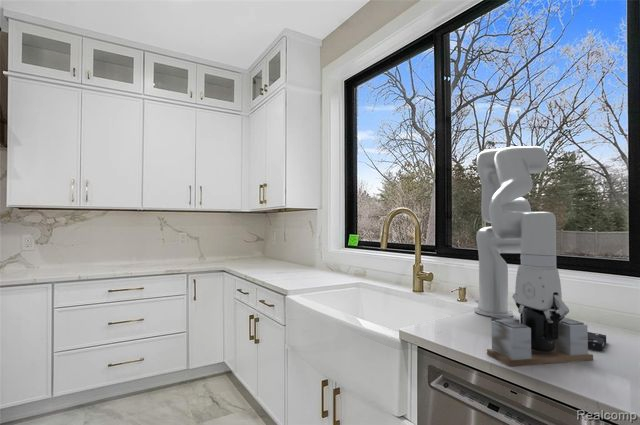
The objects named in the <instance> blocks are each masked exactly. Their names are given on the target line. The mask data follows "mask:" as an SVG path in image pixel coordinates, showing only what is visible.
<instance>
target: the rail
mask: <svg viewBox="0 0 640 425" xmlns="http://www.w3.org/2000/svg"><path fill="white" fill-rule="evenodd" d="M588 332H589V331H588V324H586V323H585V322H583V321H578V320H576V319H572V318H569V317H566V316H565V317H564V318H563V319H562V320H561V322H560V323H558V339H556V340H555V348H554V350H553V351H548V352H545V351H537V350H533V349H531V328H529V327H527V326H526V325H523V324H521V323H520V322H519V323H518V322H515V321H512V320H510V319H503V320H495V321H492V320H491V348H487V349H486V354H487V355H488V356H490V357H492V358H494V359H495V360H498V361H499V362H501V363H502V364H505V365H506V366H509V367H519V366H521V367H522V366H534V365H546V364H557V363H569V362H571V363H572V362H582V361H593V360H594V354H592V353H589V352H588V351H589V349H588Z"/></svg>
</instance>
